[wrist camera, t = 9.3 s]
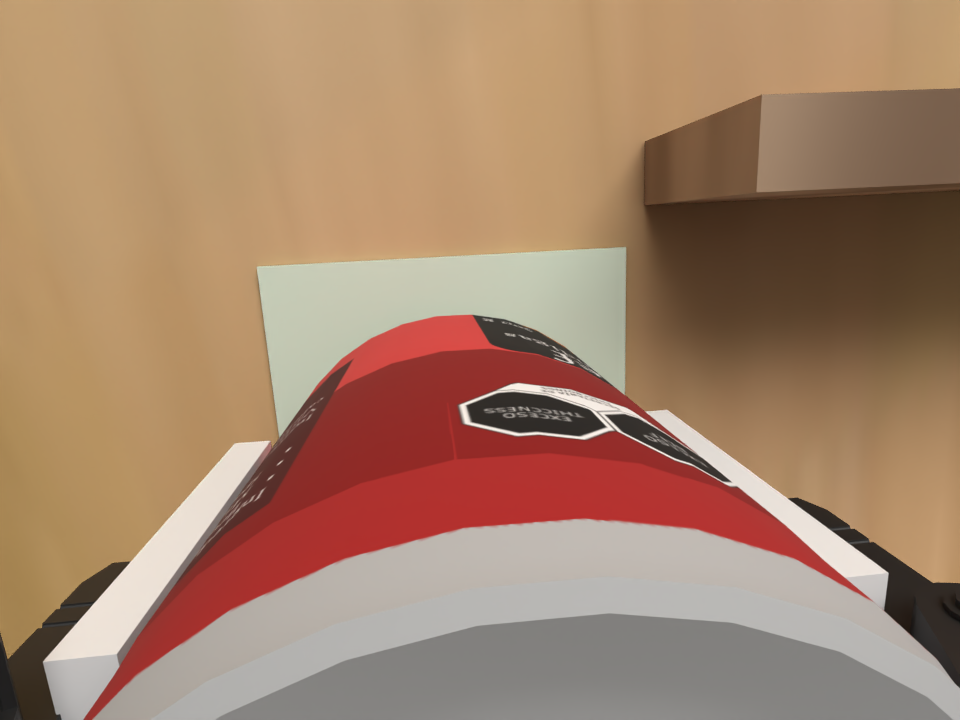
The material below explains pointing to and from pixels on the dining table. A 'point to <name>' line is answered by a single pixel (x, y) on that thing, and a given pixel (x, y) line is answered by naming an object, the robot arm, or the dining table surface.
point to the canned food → (507, 565)
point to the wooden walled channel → (810, 148)
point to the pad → (438, 307)
